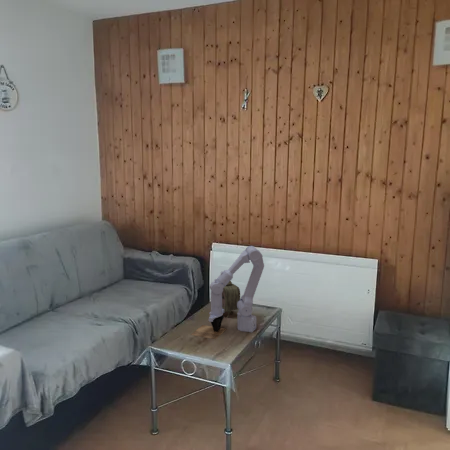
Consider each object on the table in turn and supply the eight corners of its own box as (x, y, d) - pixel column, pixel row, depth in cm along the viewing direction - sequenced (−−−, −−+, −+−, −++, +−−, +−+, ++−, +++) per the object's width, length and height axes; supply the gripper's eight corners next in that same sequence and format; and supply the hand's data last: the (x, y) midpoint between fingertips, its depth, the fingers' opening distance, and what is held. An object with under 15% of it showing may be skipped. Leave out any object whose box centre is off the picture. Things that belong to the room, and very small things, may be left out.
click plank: (226, 331, 224) (226, 329, 224) (220, 337, 217) (220, 335, 217) (202, 327, 230) (202, 324, 230) (195, 333, 223) (195, 330, 223)
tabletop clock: (216, 311, 253) (215, 270, 249) (230, 309, 257) (229, 268, 253) (226, 320, 240) (226, 276, 236) (241, 317, 244) (241, 274, 240)
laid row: (220, 337, 217) (220, 335, 217) (215, 341, 212) (215, 339, 212) (195, 333, 223) (195, 331, 222) (190, 336, 218) (190, 334, 218)
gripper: (215, 299, 229) (215, 324, 231) (203, 308, 216) (203, 334, 218) (227, 301, 226) (228, 326, 228) (215, 310, 213) (216, 336, 215)
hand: (216, 330), depth 223 cm, fingers closed
